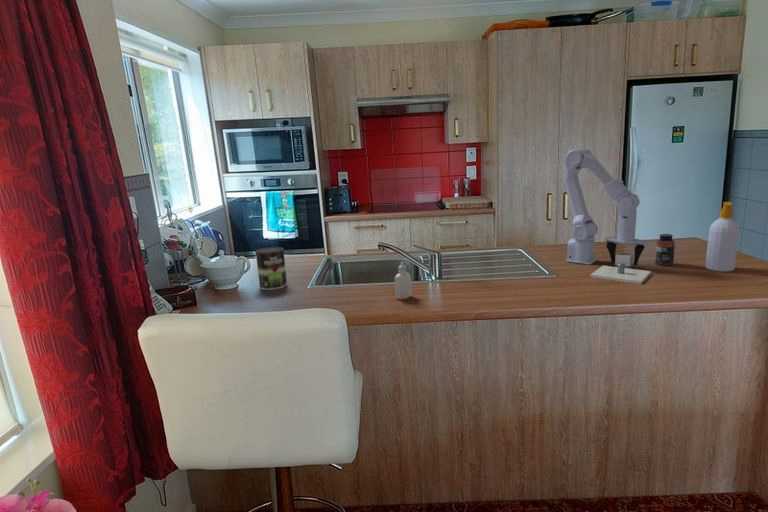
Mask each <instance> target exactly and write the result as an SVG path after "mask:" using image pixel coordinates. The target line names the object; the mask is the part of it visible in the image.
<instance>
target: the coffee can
mask: <svg viewBox="0 0 768 512" xmlns="http://www.w3.org/2000/svg"><path fill="white" fill-rule="evenodd" d="M284 252H285V251H284V247H280V246H268V247H263V248H258V249H256V250H255V257H256V265H257V266H256V267H257V273H258V274H257V275H258V276H257V277H258V283H259V284H258V285H259V289H260V290H263V291H273V290H279V289H283V288H285V287H287V286H288V282H287V281H288V280H287V272H286V271H287V269H286V261H285V253H284Z"/></svg>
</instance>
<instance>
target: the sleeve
mask: <svg viewBox="0 0 768 512" xmlns="http://www.w3.org/2000/svg"><path fill="white" fill-rule="evenodd" d="M634 258H635V252H634V253H632V252H624V251H619V252H617V253H615V262H614V267H618V263H625V268H628V269H633V267H634Z"/></svg>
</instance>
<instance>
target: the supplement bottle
mask: <svg viewBox="0 0 768 512" xmlns="http://www.w3.org/2000/svg"><path fill="white" fill-rule="evenodd" d="M655 247H656V248H655V257H654V259H655V261H654V262H655V265H657V266H663V267H666V266H667V267H668V266H673V264H674V261H675V259H674V258H675V250H676V249H675V247H676V242H675V240H673V234H669V233H661V234H660V235H659V239H658V240H657V241H656V246H655Z"/></svg>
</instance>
